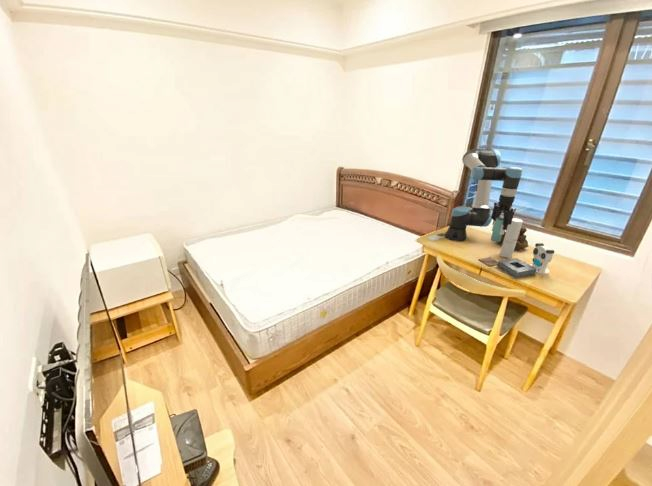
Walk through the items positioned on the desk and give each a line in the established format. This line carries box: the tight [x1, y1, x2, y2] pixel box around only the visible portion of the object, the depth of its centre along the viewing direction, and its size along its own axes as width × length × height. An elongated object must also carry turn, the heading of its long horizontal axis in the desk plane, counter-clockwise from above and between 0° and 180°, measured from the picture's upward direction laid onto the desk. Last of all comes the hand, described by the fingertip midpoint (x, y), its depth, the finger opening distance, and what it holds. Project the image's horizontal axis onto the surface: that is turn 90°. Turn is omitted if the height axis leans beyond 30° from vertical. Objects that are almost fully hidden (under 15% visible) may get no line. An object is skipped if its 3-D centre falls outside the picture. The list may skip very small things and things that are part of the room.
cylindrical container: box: [499, 217, 523, 259], centre depth 190 cm, size 7×7×25 cm
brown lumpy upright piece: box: [495, 225, 529, 252], centre depth 205 cm, size 20×11×17 cm, turn 33°
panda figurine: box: [528, 242, 555, 275], centre depth 175 cm, size 12×11×15 cm
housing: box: [496, 257, 537, 279], centre depth 176 cm, size 14×14×4 cm
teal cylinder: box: [490, 216, 504, 243], centre depth 176 cm, size 5×5×15 cm
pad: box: [478, 257, 498, 267], centre depth 186 cm, size 9×9×1 cm
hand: (497, 232), depth 177 cm, fingers closed on teal cylinder, 5 cm apart
